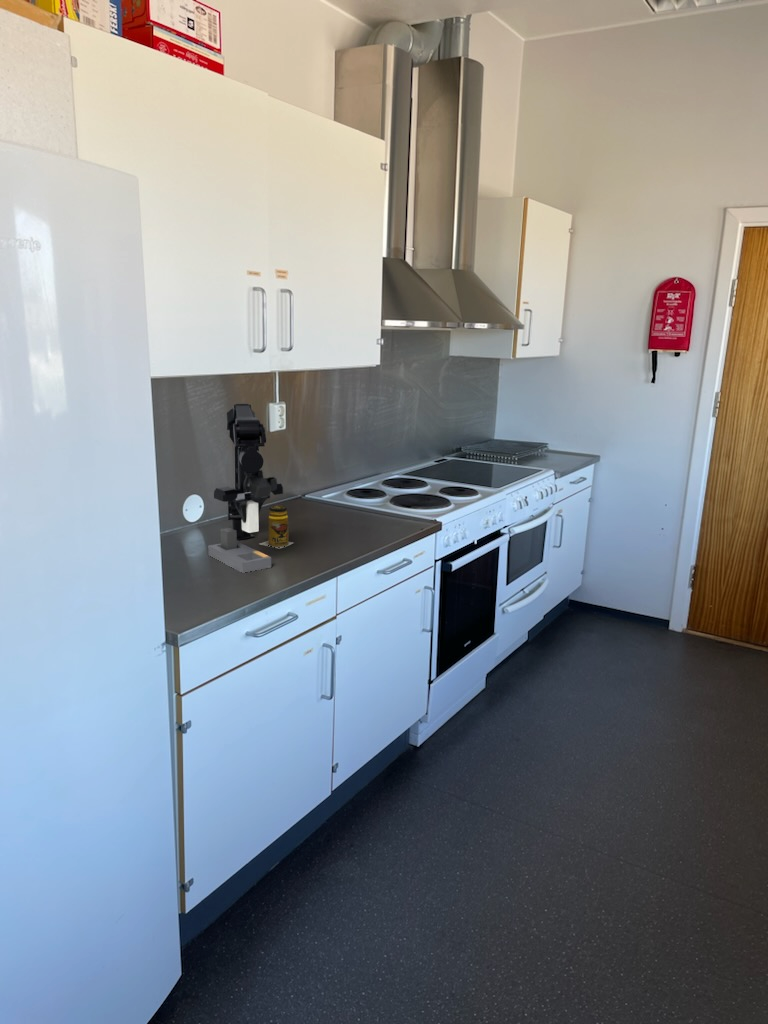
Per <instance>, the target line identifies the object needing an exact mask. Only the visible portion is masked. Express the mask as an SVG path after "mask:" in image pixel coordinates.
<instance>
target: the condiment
mask: <svg viewBox="0 0 768 1024" xmlns="http://www.w3.org/2000/svg"><path fill="white" fill-rule="evenodd" d="M287 508H288V507H286V506H285V505H279V504H278V505H271V506H270V507H269V515H268V519H267V520H268V540H267V541H264V542H263V541H262V542H261V543H259V545H261V546H266V547H270V546H272V547H270V548H274V547H275V549H279V550H280V549H283V548H286V547H289V546H291V545H292V544H294V542H292V541H289V516H288V509H287ZM268 545H269V546H268ZM284 546H285V547H284ZM278 547H280V548H278Z"/></svg>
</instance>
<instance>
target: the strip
mask: <svg viewBox="0 0 768 1024" xmlns="http://www.w3.org/2000/svg"><path fill="white" fill-rule="evenodd" d="M207 548H208V556H209V557H210V556H211V558H212V557H213V559H214V558H215V559H214V560H216V559H217V560H216V561H218V560H219V561H218V562H220V561H221V562H220V563H222V562H223V563H222V564H224V563H225V564H224V565H226V566H228V567H229V566H230V568H231V567H232V569H233V568H234V570H235V571H236V572H239V573H241V572H242V573H241V574H246V573H245V572H248V573H251V572H250V571H252V572H256V571H255V570H257V571H260V570H261V569H262V570H266V568H267V569H270V568H272V556H269V555H267V554H265V553H263V552H261V551H259V550H256V549H255V548H253V547H250V546H248V545H246V544H243V543H241V542H239V540H237V548H236V549H230V550H225V549H222V548H221V542H220V543H215V544H210V545H208V546H207ZM262 570H261V571H262Z"/></svg>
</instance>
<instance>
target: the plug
mask: <svg viewBox="0 0 768 1024" xmlns="http://www.w3.org/2000/svg"><path fill="white" fill-rule="evenodd" d="M259 528H260V526H259V516H258V503H257V502H254V501H251V500H249V501H247V503H246V523H244V522H243V521H242V530H243V531H246V532H248V533H251V534H253V533H256V532H259Z"/></svg>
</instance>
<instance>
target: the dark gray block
mask: <svg viewBox="0 0 768 1024" xmlns="http://www.w3.org/2000/svg"><path fill="white" fill-rule="evenodd" d="M219 532H220V543H221V548H222V549H225V550H230V549H236V548H237V541H238V540H237V532H236V530H234V529H232V527H226V528H225V527H224V528H220V531H219Z"/></svg>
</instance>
